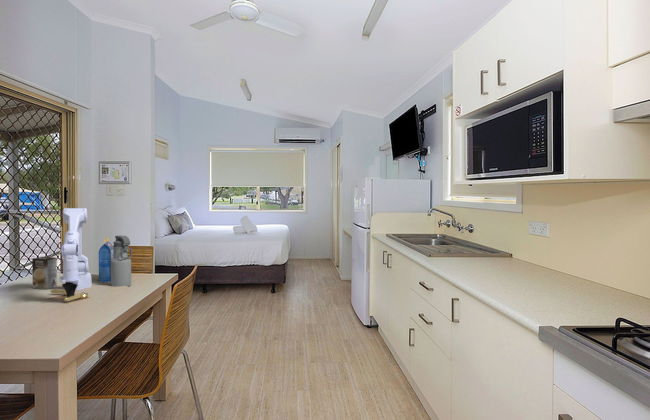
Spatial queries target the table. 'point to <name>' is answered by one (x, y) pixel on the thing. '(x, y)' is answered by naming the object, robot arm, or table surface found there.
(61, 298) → the base
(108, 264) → the blue plastic bottle
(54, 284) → the coffee box
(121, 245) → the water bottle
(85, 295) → the lever
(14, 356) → the table surface
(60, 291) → the lever
